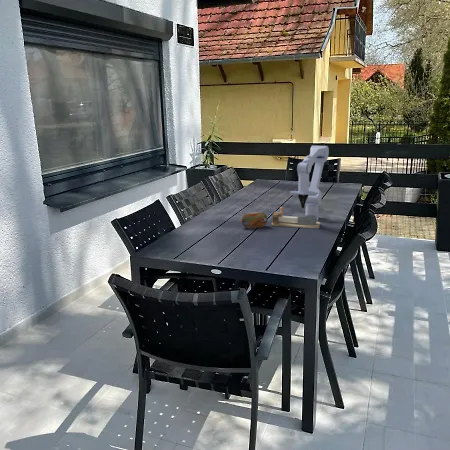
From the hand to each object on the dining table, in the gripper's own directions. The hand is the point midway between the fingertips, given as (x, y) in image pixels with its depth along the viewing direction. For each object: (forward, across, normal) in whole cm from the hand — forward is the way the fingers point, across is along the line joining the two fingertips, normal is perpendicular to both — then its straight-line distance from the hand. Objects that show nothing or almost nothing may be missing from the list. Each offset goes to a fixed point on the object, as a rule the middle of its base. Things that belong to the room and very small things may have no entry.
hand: (302, 207), depth 262 cm
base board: (+10, -4, -1) cm, 11 cm away
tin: (+10, -26, -10) cm, 30 cm away
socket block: (+10, -15, -1) cm, 18 cm away
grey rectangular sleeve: (+10, +2, -1) cm, 10 cm away
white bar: (+8, -7, -1) cm, 11 cm away
